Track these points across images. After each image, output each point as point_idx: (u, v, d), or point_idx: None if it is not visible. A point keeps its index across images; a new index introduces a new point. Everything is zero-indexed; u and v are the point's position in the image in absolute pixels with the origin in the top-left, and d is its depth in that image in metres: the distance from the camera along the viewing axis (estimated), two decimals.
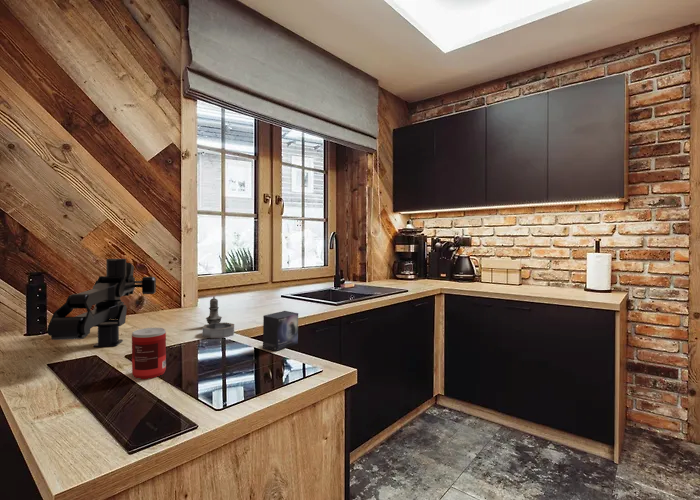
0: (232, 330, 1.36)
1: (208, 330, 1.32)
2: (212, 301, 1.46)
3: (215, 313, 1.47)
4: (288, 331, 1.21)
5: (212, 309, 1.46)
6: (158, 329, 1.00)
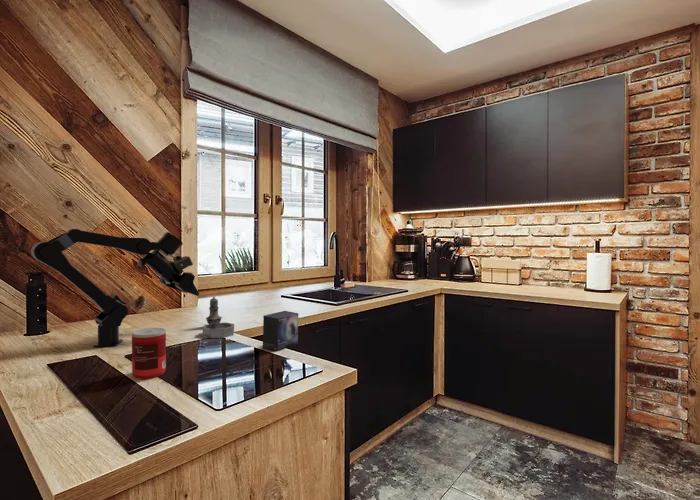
0: (232, 330, 1.36)
1: (208, 330, 1.32)
2: (212, 301, 1.46)
3: (215, 313, 1.47)
4: (288, 331, 1.21)
5: (212, 309, 1.46)
6: (158, 329, 1.00)
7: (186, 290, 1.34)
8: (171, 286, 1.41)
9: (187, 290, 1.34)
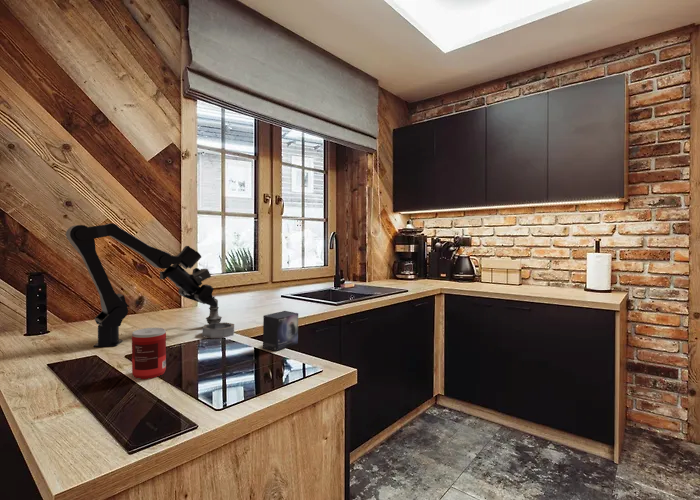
0: (232, 330, 1.36)
1: (208, 330, 1.32)
2: None
3: (215, 313, 1.47)
4: (288, 331, 1.21)
5: (212, 309, 1.46)
6: (158, 329, 1.00)
7: (205, 302, 1.39)
8: (190, 297, 1.46)
9: (206, 302, 1.39)
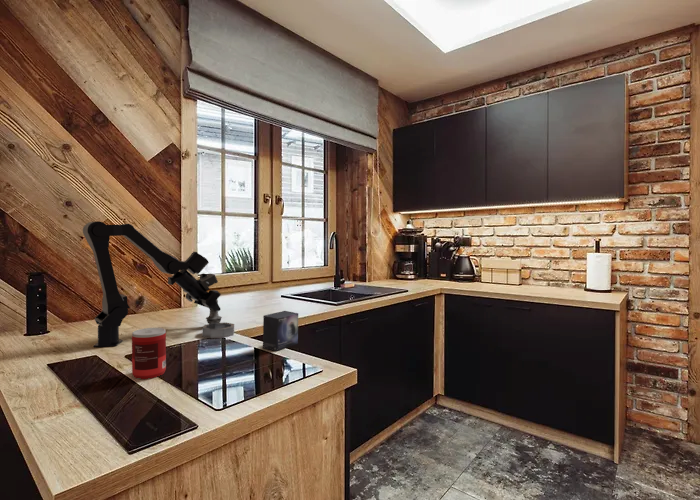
0: (232, 330, 1.36)
1: (208, 330, 1.32)
2: None
3: (215, 313, 1.47)
4: (288, 331, 1.21)
5: (212, 309, 1.46)
6: (158, 329, 1.00)
7: None
8: (200, 303, 1.46)
9: None
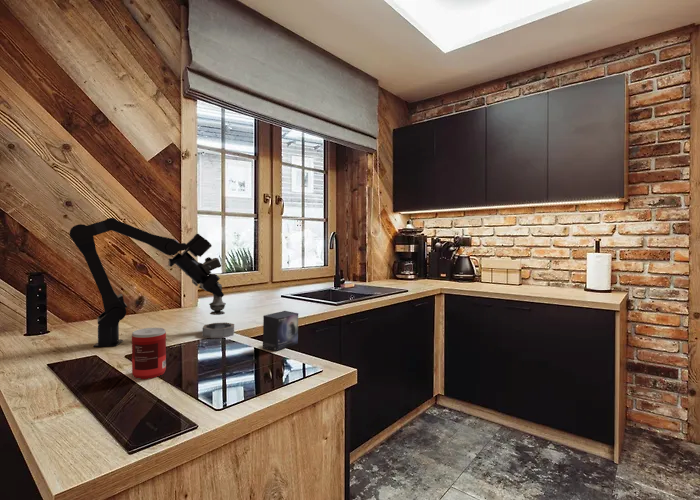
0: (232, 330, 1.36)
1: (208, 330, 1.32)
2: None
3: (218, 299, 1.40)
4: (288, 331, 1.21)
5: (215, 295, 1.40)
6: (158, 329, 1.00)
7: (210, 291, 1.36)
8: None
9: (211, 291, 1.37)
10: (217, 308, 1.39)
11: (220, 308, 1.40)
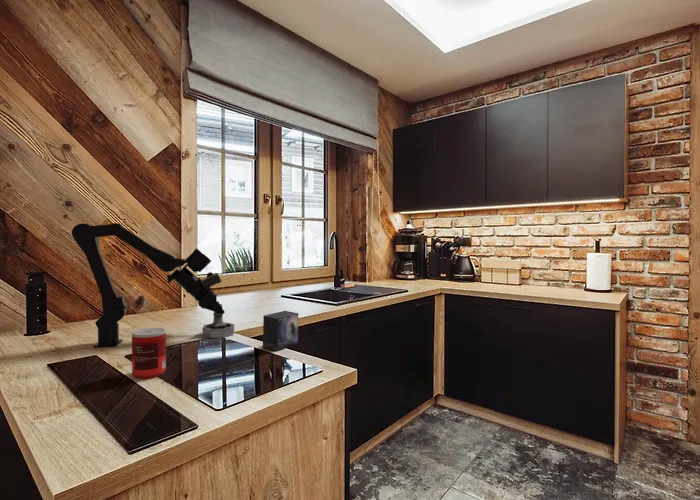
0: (232, 330, 1.36)
1: (208, 330, 1.32)
2: None
3: (218, 320, 1.36)
4: (288, 331, 1.21)
5: (215, 315, 1.35)
6: (158, 329, 1.00)
7: (209, 308, 1.31)
8: None
9: (210, 308, 1.31)
10: None
11: None
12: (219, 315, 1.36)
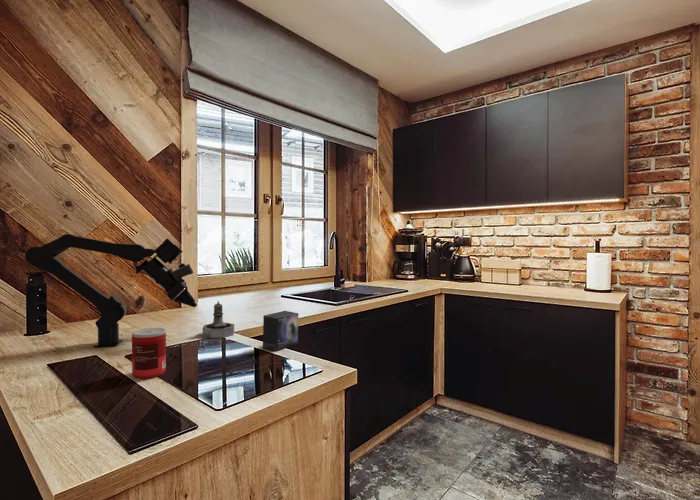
0: (232, 330, 1.36)
1: (208, 330, 1.32)
2: (215, 306, 1.35)
3: (218, 320, 1.36)
4: (288, 331, 1.21)
5: (215, 315, 1.35)
6: (158, 329, 1.00)
7: (179, 300, 1.25)
8: None
9: (180, 300, 1.26)
10: None
11: None
12: (219, 315, 1.36)
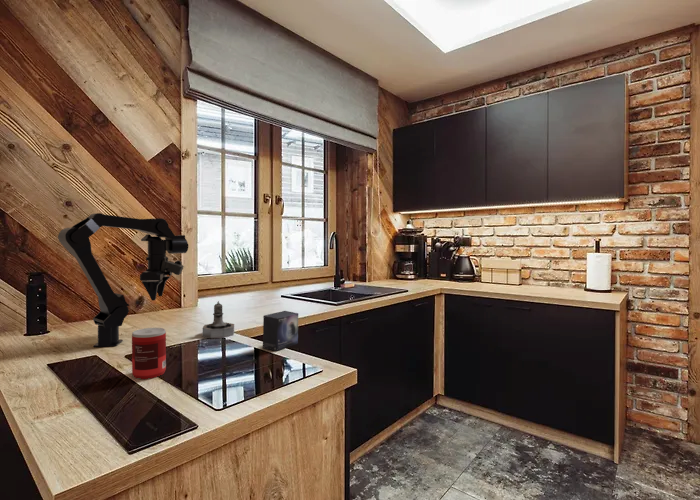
0: (232, 330, 1.36)
1: (208, 330, 1.32)
2: (215, 306, 1.36)
3: (218, 320, 1.36)
4: (288, 331, 1.21)
5: (215, 315, 1.35)
6: (158, 329, 1.00)
7: (145, 285, 1.28)
8: None
9: (146, 286, 1.28)
10: None
11: None
12: (219, 315, 1.36)
